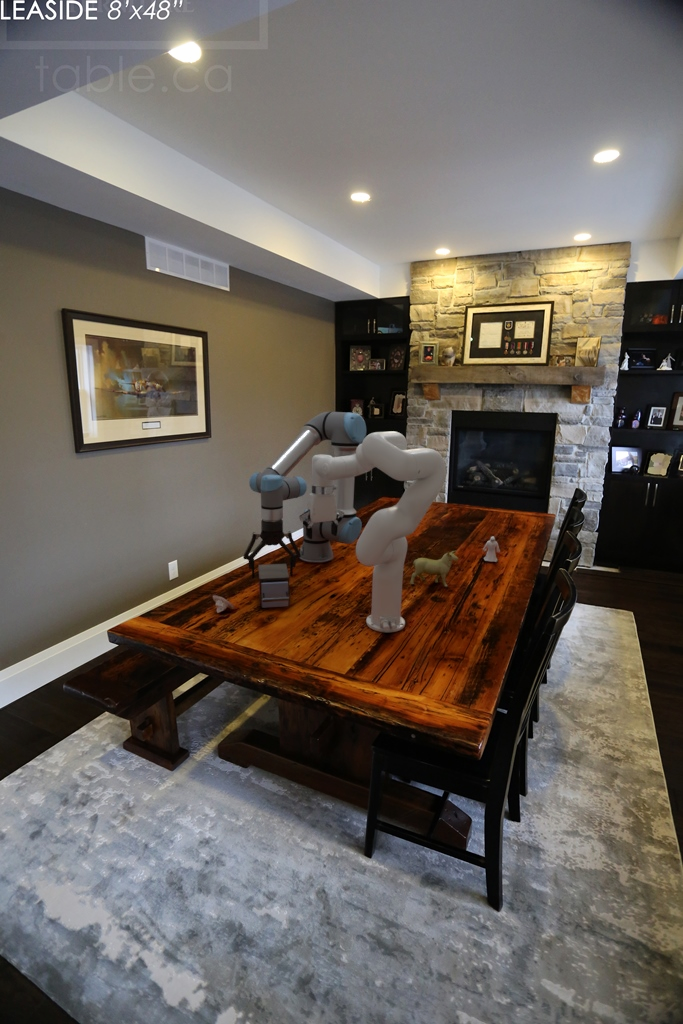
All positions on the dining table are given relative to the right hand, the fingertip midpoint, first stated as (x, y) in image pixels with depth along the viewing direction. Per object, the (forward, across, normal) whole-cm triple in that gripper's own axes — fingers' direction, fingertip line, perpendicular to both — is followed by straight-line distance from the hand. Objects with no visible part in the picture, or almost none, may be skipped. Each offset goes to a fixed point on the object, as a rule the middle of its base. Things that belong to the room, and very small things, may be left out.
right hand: (321, 536), depth 180 cm
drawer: (+21, +19, +3) cm, 29 cm away
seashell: (+22, +36, -1) cm, 43 cm away
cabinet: (+22, +17, -3) cm, 28 cm away
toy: (+22, -43, +11) cm, 50 cm away
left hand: (+14, +17, -5) cm, 23 cm away
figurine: (+22, -85, -2) cm, 88 cm away
